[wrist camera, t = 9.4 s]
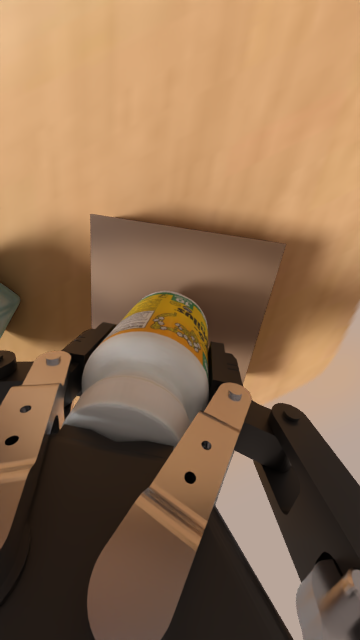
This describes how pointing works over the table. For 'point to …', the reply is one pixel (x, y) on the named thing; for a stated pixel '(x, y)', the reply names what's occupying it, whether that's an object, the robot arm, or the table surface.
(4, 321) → the flower pot
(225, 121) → the table surface
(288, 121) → the table surface
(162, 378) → the supplement bottle
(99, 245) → the walnut plinth
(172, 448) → the robot arm
